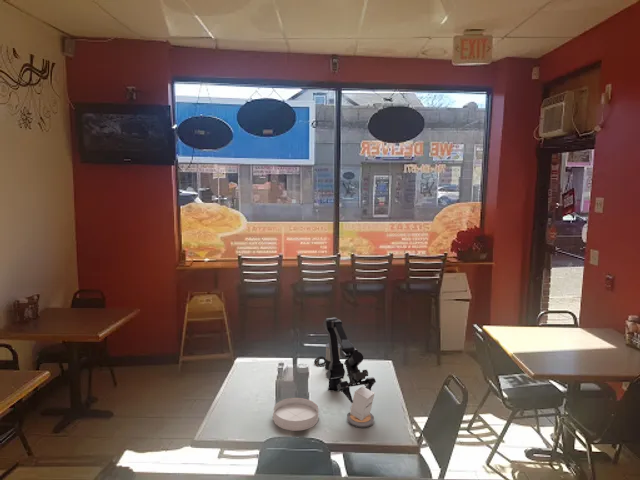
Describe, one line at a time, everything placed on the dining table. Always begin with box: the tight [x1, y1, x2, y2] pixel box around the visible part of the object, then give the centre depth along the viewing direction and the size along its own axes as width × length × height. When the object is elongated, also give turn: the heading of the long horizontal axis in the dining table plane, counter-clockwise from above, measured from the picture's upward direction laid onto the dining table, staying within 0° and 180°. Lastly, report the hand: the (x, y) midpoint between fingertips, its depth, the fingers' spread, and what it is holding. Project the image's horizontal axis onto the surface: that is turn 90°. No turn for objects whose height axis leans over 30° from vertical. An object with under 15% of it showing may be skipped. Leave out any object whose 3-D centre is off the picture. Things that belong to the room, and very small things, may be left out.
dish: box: [272, 397, 320, 432], centre depth 223 cm, size 22×22×5 cm
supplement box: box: [349, 385, 375, 421], centre depth 221 cm, size 7×7×13 cm
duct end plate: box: [346, 411, 375, 429], centre depth 223 cm, size 13×13×2 cm
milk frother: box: [314, 342, 341, 371], centre depth 281 cm, size 14×16×15 cm
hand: (361, 401), depth 222 cm, fingers open, 9 cm apart
